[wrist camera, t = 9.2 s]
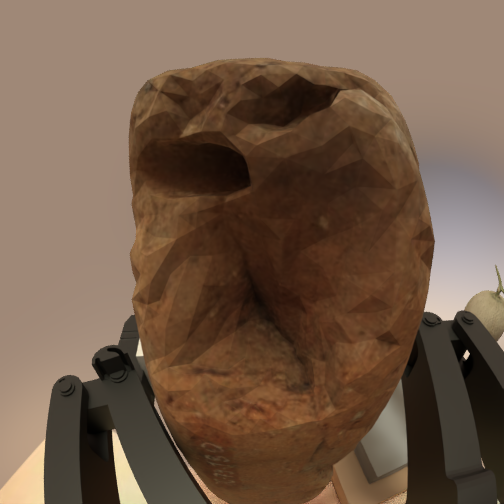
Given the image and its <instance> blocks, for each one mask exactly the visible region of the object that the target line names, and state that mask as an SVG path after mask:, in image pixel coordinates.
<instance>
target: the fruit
mask: <svg viewBox="0 0 504 504" xmlns="http://www.w3.org/2000/svg"><path fill="white" fill-rule="evenodd" d="M496 271H497V275H498V279H499V287H498V289H497V292H494V291H482V292H480V293H478V294H476V295H475V296H473V297H472V298H471V300H470V301H469V302H468V304H467V306H466V307H465V310H464V311H469V312H471V313H473V314H474V315H475V316H476V317H477V318H478V319H479V320H480V321H481V323H482V324H483V325H484V326H485V328H486V329H487V330H488V331H489V333H490V334H491V335H492V337H493V338H494V339H495V341H496V342H497V341H498V339H499V338H500V337H501V336H502V334H503V332H504V298H503V297H502V296H501V295H500V292H501V291H502V292H503V293H504V289H503V287H502V283H501V278H500V275H499V272H498V269H497V266H496Z"/></svg>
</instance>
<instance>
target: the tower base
mask: <svg viewBox="0 0 504 504" xmlns="http://www.w3.org/2000/svg"><path fill="white" fill-rule="evenodd" d="M407 475H408V464H407V434H406V420H405V408H404V398H403V390H402V382H401V379H400V381H399V383H398V385H397V387H396V389H395V391H394V393H393V394H392V396H391V398H390V400H389V402H388V403H387V405H386V407H385V408H384V410H383V411H382V413H381V414H380V416H379V418H378V420H377V421H376V423H375V424H374V426H373V428H372V429H371V430H370V431H369V432H368V433H367V434H366V435H365V436H364V437H363V438H362V440H361V441H360V442H359V443H358V444H357V446H356V448H355V449H354V450H353V451H352V452H350V453H349V454H348V455H347V456H345V457H344V458H343V459H342V460H340V461H339V462H338V463H336V464H334V465H333V476H332V478H331V479H332V482H333V485H334V487H335V490H336V492H337V495H338V498H339V500H340V503H341V504H380V503H382V502H385V501H387V500H389V499H391V498H393V497H395V496H397V495H399V494H401V493H403V492H405V491H406V490H407Z"/></svg>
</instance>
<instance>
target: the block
mask: <svg viewBox="0 0 504 504" xmlns="http://www.w3.org/2000/svg"><path fill="white" fill-rule="evenodd" d="M129 163H130V179H131V185H132V191H133V199H132V208H133V214H134V219H135V224H136V240H135V243H134V245H133V247H132V249H131V252H130V259H131V265H132V271H133V274H134V277H135V280H136V287H135V290H134V294H133V298H132V303H133V308H134V313H135V318H136V323H137V327H138V332H139V337H140V342H141V347H142V351H143V356H144V360H145V365H146V368H147V372H148V375H149V379H150V382H151V385H152V388H153V392H154V395H155V398H156V400H157V403H158V406H159V409H160V412H161V414H162V416H163V419H164V421H165V423H166V425H167V427H168V429H169V431H170V433H171V435H172V437H173V439H174V441H175V443H176V445H177V447H178V448H179V450H180V451H181V452H182V453H183V455H184V457H185V458H186V460H187V462H188V463H189V464H190V466H191V467H192V468H193V469H194V470H195V472H196V473H197V475H198V476H199V477H200V479H201V480H202V481H203V482H204V483H205V485H206V486H207V487H208V489H209V490H210V491H211V492H213V493H214V494H215V495H216V496H217V497H219V498H220V499H222V500H224V501H226V502H227V503H230V504H302V503H305V502H308V501H310V500H311V499H313V498H315V497H316V496H317V495H319V494H320V493H321V492H322V491H323V489H324V488H325V487H326V486H327V485H328V483H329V482H330V481H331V478H332V476H333V465H334V464H336V463H338V462H339V461H340V460H342V459H343V458H344V457H345V456H347V455H348V454H349V453H350V452H352V451H353V450H354V449H355V448H356V446H357V444H358V443H359V442H360V441H361V440H362V438H363V437H364V436H365V435H366V434H367V433H368V432H369V431H370V430H371V429H372V428H373V426H374V424H375V423H376V421H377V420H378V418H379V416H380V414H381V413H382V411H383V410H384V408H385V407H386V405H387V403H388V402H389V400H390V398H391V396H392V394H393V393H394V391H395V389H396V387H397V385H398V383H399V381H400V379H401V377H402V375H403V372H404V370H405V368H406V365H407V362H408V359H409V356H410V353H411V350H412V347H413V344H414V341H415V338H416V335H417V332H418V329H419V326H420V323H421V321H422V317H423V313H424V308H425V304H426V299H427V294H428V289H429V281H430V272H431V266H432V259H433V252H434V243H435V240H434V235H433V228H432V223H431V217H430V212H429V207H428V203H427V198H426V194H425V190H424V186H423V182H422V179H421V175H420V172H419V163H418V159H417V155H416V151H415V147H414V144H413V141H412V138H411V135H410V132H409V129H408V127H407V124H406V122H405V120H404V118H403V116H402V114H401V112H400V110H399V108H398V106H397V105H396V103H395V101H394V100H393V98H392V96H391V95H390V94H389V93H388V92H387V91H386V90H384V89H383V88H382V87H381V86H380V85H379V84H378V83H377V82H376V81H375V80H373V79H372V78H370V77H368V76H366V75H364V74H362V73H361V72H359V71H357V70H351V69H346V68H338V67H324V66H317V65H313V64H309V63H303V62H286V61H281V60H275V59H270V58H247V59H227V60H217V61H213V62H210V63H206V64H203V65H199V66H196V67H193V68H186V69H177V70H169V71H166V72H164V73H162V74H160V75H158V76H156V77H154V78H152V79H150V80H148V81H147V82H146V83H145V84H144V86H143V87H142V88H141V89H140V91H139V92H138V94H137V96H136V99H135V101H134V105H133V108H132V112H131V119H130V129H129Z"/></svg>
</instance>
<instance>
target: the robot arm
mask: <svg viewBox="0 0 504 504" xmlns="http://www.w3.org/2000/svg"><path fill="white" fill-rule="evenodd" d="M466 350H468V352H469V353H470V355H469V357H468V359H467V360H466V359H465V358H464V357H463V356H464V354H465V352H466ZM92 366H93V367H94V369H95V371H96V373H97V374H98V376H99V379H96V380H92V381H88V382H84V383H82V382H81V380H80V379H79V378H78V377H76V376H72V375H67V376H64V377H62V378H60V379H59V380H58V381H57V382H56V383H55V384H54V386H53V389H52V394H51V400H50V407H49V413H48V421H47V430H46V441H45V457H44V500H45V504H120V499H119V493H118V487H117V480H116V472H115V463H114V453H113V441H112V429H116V431H117V434H118V437H119V440H120V443H121V445H122V448H123V450H124V453H125V455H126V458H127V460H128V463H129V465H130V468H131V470H132V472H133V474H134V477H135V479H136V481H137V483H138V485H139V487H140V489H141V491H142V493H143V495H144V497H145V499H146V501H147V503H148V504H212V503H211V502H210V500H209V499H208V497H207V496H206V495H205V493H204V492H203V490H202V489H201V487H200V486H199V484H198V483H197V481H196V480H195V478H194V477H193V475H192V473H191V472H190V470H189V469H188V467H187V465H186V464H185V462H184V461H183V459H182V457H181V455H180V454H179V452H178V450H177V448H176V447H175V445H174V443H173V441H172V439H171V438H170V436H169V434H168V432H167V430H166V428H165V426H164V424H163V422H162V420H161V418H160V416H159V414H158V412H157V410H156V409H155V407H154V399H155V395H154V392H153V388H152V385H151V382H150V379H149V375H148V372H147V368H146V365H145V360H144V356H143V351H142V347H141V342H140V337H139V332H138V327H137V323H136V318H135V315H131V316H130V318H129V319H128V320H127V321H126V322H125V324H124V327H123V331H122V334H121V337H120V341H119V344H118V345H110V346H106V347H104V348H102V349H100V350H99V351H98V352H96V353H95V355H94V357H93V359H92ZM401 382H402V390H403V398H404V408H405V420H406V434H407V464H408V475H407V500H406V503H405V504H497V499H498V501H499V502H500V504H504V352H503V350H502V349H501V348H500V346H499V345H498V343H497V342H496V341H495V339H494V338H493V337H492V335H491V334H490V333H489V331H488V330H487V329H486V328H485V326H484V325H483V324H482V323H481V321H480V320H479V319H478V318H477V317H476V316H475V315H474V314H473V313H471V312H469V311H459V312H457V314H456V316H455V318H454V320H449V321H442V320H441V318H440V317H439V316H437V315H436V314H434V313H430V312H424V313H423V317H422V321H421V323H420V326H419V329H418V332H417V335H416V338H415V341H414V344H413V347H412V350H411V353H410V356H409V359H408V362H407V365H406V368H405V370H404V372H403V375H402V377H401ZM481 458H482V461H483V463H484V466H485V469H484V467H483V466H482V461H481Z"/></svg>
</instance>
